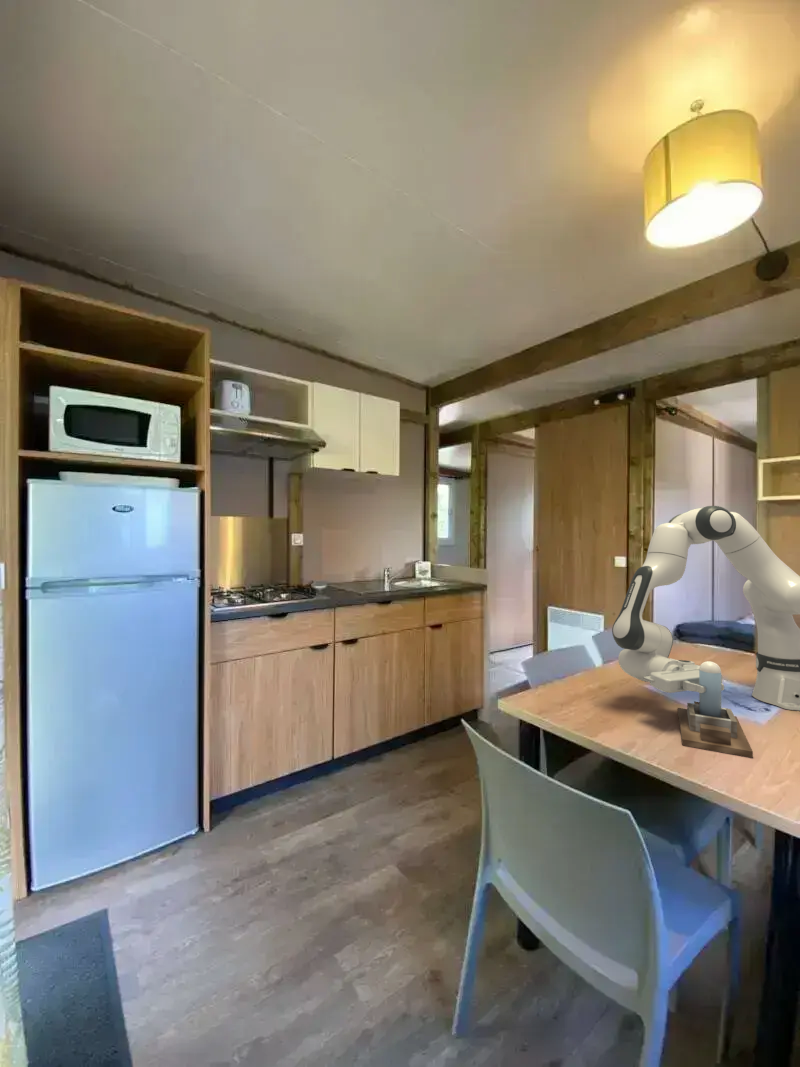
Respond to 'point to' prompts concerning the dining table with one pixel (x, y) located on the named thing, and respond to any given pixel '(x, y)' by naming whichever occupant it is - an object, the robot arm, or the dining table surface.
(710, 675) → the dome-topped blue cylinder
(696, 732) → the cradle
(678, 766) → the dining table surface
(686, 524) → the robot arm
